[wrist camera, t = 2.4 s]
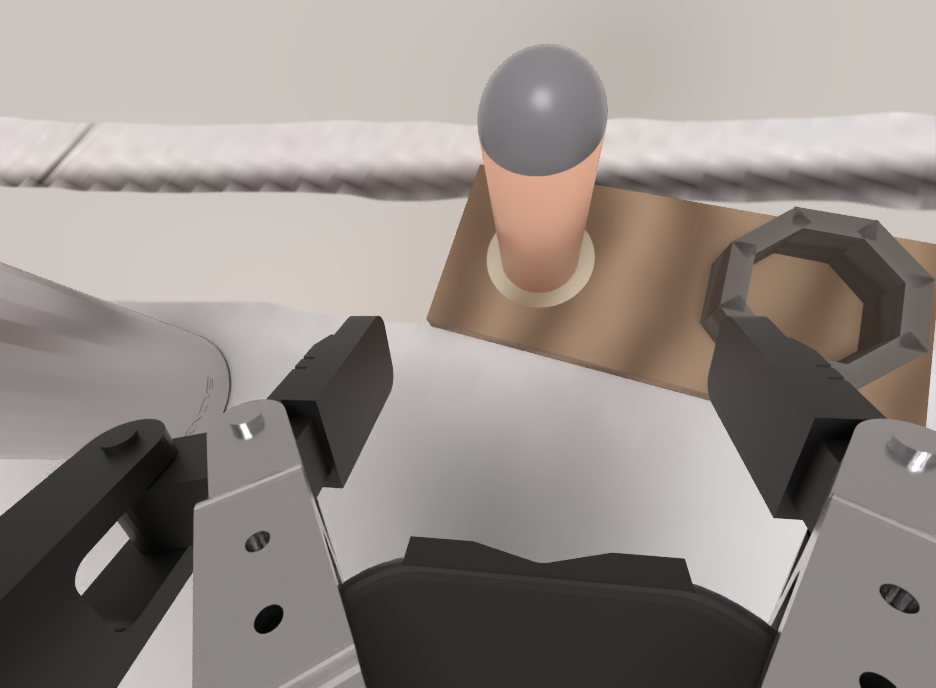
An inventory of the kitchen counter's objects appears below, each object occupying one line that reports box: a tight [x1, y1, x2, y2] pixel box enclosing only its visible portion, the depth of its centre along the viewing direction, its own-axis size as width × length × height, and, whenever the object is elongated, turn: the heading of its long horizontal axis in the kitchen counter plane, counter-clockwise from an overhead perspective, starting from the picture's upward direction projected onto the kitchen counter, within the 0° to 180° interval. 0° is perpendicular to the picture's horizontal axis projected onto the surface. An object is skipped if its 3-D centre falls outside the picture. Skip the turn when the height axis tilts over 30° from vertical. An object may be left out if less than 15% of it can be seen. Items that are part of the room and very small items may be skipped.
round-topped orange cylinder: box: [478, 44, 608, 293], centre depth 22 cm, size 5×5×14 cm
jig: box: [427, 165, 936, 427], centre depth 26 cm, size 28×12×4 cm, turn 73°
